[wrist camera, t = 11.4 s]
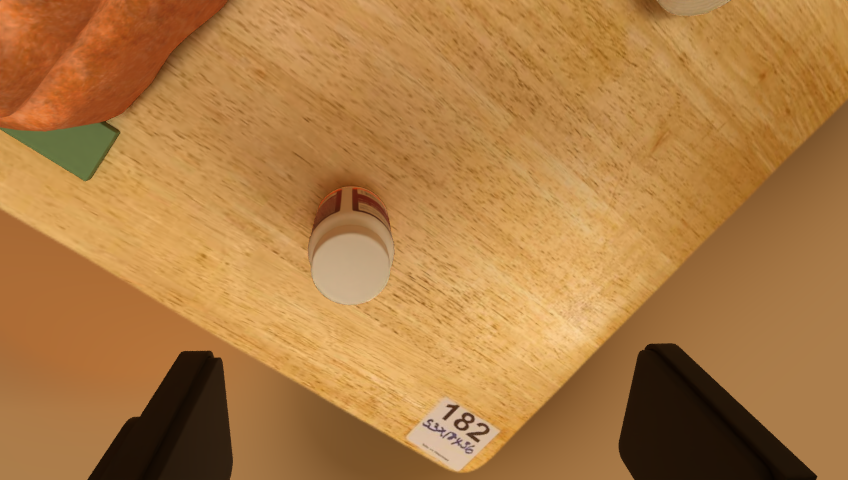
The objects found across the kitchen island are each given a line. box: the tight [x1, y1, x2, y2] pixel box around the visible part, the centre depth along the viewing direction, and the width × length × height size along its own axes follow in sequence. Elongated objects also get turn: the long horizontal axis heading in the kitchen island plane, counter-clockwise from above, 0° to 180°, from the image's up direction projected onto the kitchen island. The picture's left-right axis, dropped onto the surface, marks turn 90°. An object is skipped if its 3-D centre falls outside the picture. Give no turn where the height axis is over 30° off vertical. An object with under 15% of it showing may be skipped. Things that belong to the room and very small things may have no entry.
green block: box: [0, 121, 120, 181], centre depth 28 cm, size 10×4×1 cm, turn 51°
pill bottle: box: [308, 186, 395, 305], centre depth 29 cm, size 5×5×8 cm
